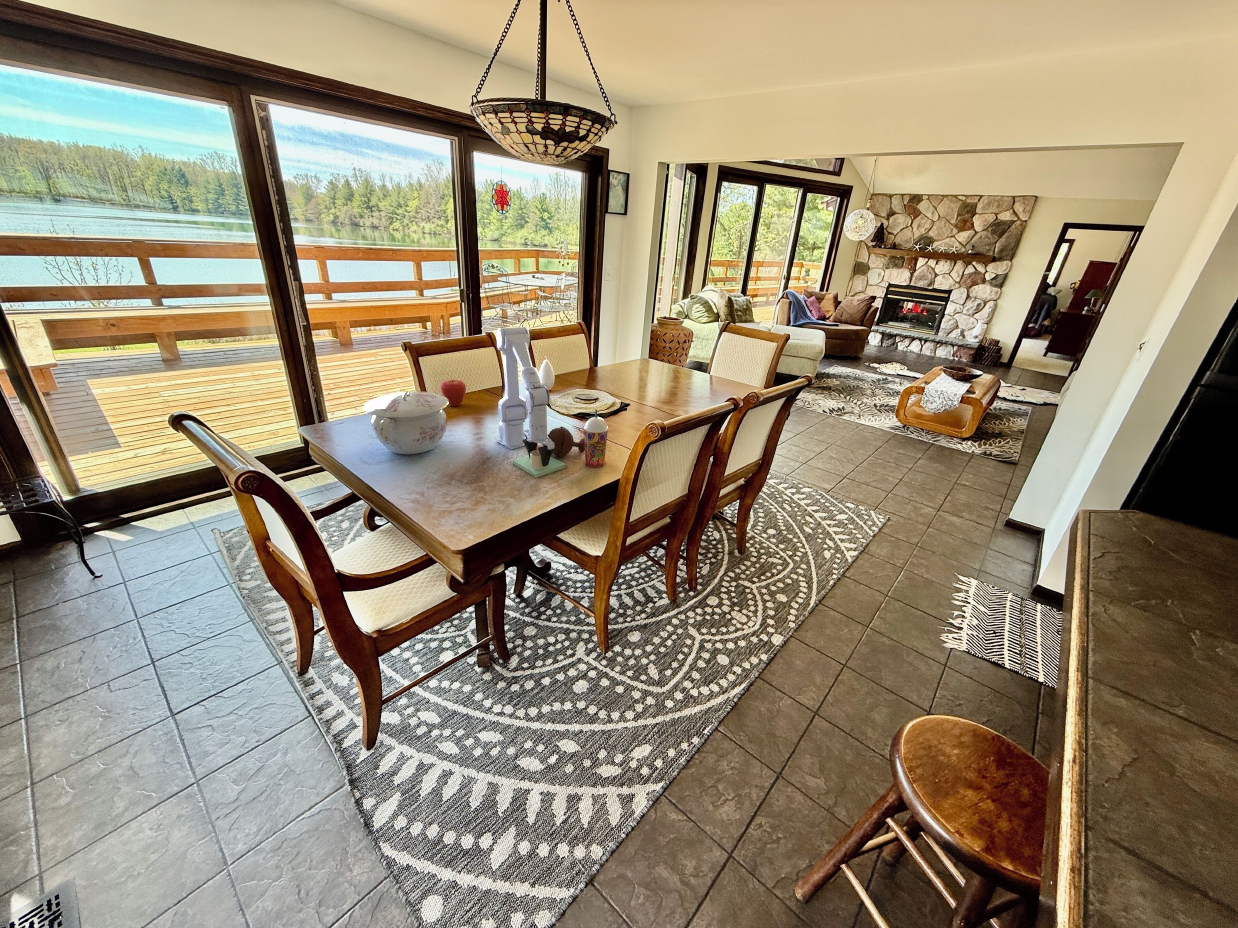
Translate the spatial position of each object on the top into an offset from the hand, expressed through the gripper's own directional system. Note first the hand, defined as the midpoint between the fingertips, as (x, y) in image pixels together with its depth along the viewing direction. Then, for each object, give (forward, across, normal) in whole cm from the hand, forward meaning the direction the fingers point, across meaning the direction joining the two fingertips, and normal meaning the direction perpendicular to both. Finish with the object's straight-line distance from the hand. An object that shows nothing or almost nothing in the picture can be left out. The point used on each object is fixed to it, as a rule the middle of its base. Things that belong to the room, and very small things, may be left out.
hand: (539, 462), depth 161 cm
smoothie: (+3, +8, +18) cm, 20 cm away
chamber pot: (+3, -44, -24) cm, 50 cm away
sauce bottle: (+3, -72, +57) cm, 92 cm away
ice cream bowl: (0, -2, +21) cm, 21 cm away
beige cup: (+2, 0, 0) cm, 2 cm away
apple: (+3, -78, +10) cm, 79 cm away
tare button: (0, -8, +5) cm, 9 cm away
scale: (+3, -3, +2) cm, 5 cm away
